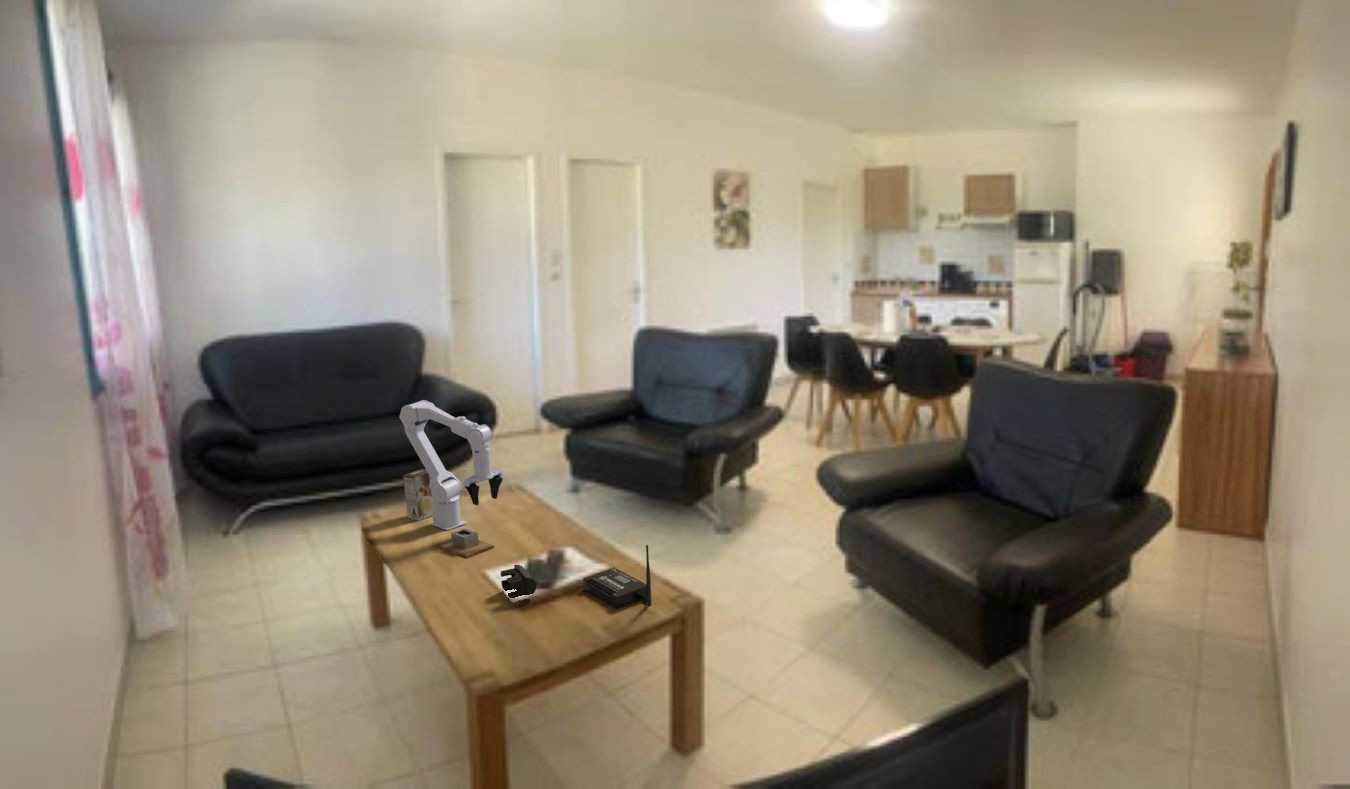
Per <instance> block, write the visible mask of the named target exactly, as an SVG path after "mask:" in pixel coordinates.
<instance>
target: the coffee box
mask: <svg viewBox="0 0 1350 789" xmlns="http://www.w3.org/2000/svg"><path fill="white" fill-rule="evenodd" d="M402 478H403V487H404V495H405V505H406V513H407V518H408V519H410V518H411V520H414V519H415V520H414V521H417V522H419V521H422V519H423V520H425V519H427V517H428V518H430V517H433V513H432V504H433V502H434V501H435V500H434V499H433V497H432V494H431V489H430V487H429V484H430V481H431V477H430V475H429V474H428V472H427V470H426V468H421V469H418V470H414V471H412V472H409V473H406V474H403V475H402Z"/></svg>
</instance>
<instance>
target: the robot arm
mask: <svg viewBox="0 0 1350 789" xmlns="http://www.w3.org/2000/svg"><path fill="white" fill-rule="evenodd" d="M399 419H400V421H401V423H402V424H403V427H404V432H405V435H406V436H407V439H408V440H409V442H410V444H411V445H412V447H413V450H414V451H415V453H416V454H417V456H418V457H419V460H420V461H421V463H422V465H423V466H424V469H426V470H427V472H428V474H429V475H430V477H431V481H430V484H429V487H430V489H431V494H432V497H433V499H434V500H435V501H434V502H433V504H432V513H433V516H432V522H431V524H430V525H432V526H433V527H437V528H439V529H442V530H444V531H450V530H452V529H453V530H454V529H455V528H458V527H460V526H463V525H466V524H467V522H466V521H464V520H461V510H460V499H459V498H460V496H461V493H462V492H463V487H464V489H466V491H467V492H468V495H469V497H470V499H471V502H472V504H473V505H475V506H479V502H480V501H479V493H480V492H479V491H480V486H479V485H477V484H478V483H480V482H484V481H487V480H488V483H489V488H490V495H491V498H492V499H494V500H497V499H498V494H499V490H500V488H501V487H500V486H501V484H502V482H503V480H504V479H503V475H504V473H503V470H502V469H500V468H498V469H494V470H492V457H491V446H490V440H492V438H493V432H492V429H491V428H490V427H489V426H488V425H487V424H478V423H477V422H473V421H470V420H469V419H467V417H466V416H464V415H463V416H457V417H455V416H452V415H451V414H449V413H447V412H445V411H444V410H442V409H440V408H439V407H437V406H435V405H434V403H433V402H430V401H428V400H426V399H421V400H419V401H417V402H413V403H410V404H405V405H404V406H402V408H401V410H400V414H399ZM429 420H432V421H434V422H437V423H440V424H442V425H444V426H447V427H450V430H451V432H452V433H454V434H456V435H457V436H460V437H461V438H464V439H466V440H467V442H468V443H469V444H470V449H471V452H472V462H473V474H472V475H471V476H469V477H468V478H465V479H463V482H461V481H460V479H458V478H457V477H456V476H455V474H454V473H453V472H452V471H451V472H450V471H448V470H446V468H445V466H444V464H443V462H442V460H441V459H440V457H439V455H438V454H437V452H436V450H435V448H434V446H433V445H432V443H431V442H430V440H429V438H428V436H427V435H426V432H425V431H424V430H425V426H426V424H427V422H428V421H429ZM462 483H463V484H462Z"/></svg>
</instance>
